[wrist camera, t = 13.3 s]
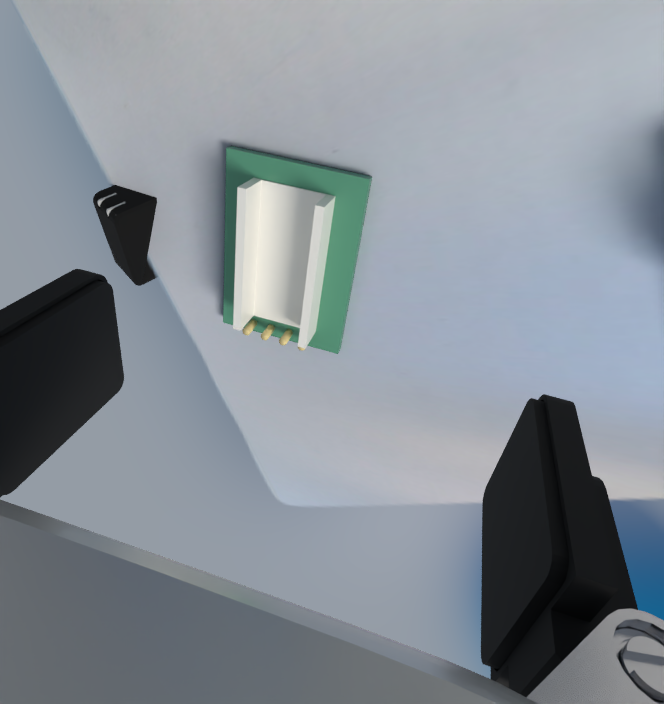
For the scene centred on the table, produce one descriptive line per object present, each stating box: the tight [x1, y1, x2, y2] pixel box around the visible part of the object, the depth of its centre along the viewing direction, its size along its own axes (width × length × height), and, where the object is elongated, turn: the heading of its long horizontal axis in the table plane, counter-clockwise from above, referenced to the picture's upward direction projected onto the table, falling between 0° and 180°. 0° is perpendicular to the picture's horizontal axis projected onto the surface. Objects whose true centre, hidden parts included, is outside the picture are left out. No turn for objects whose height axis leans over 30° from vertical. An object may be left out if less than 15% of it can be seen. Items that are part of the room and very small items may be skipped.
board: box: [223, 146, 372, 354], centre depth 46 cm, size 18×13×4 cm
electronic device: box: [93, 185, 157, 285], centre depth 53 cm, size 4×10×10 cm
